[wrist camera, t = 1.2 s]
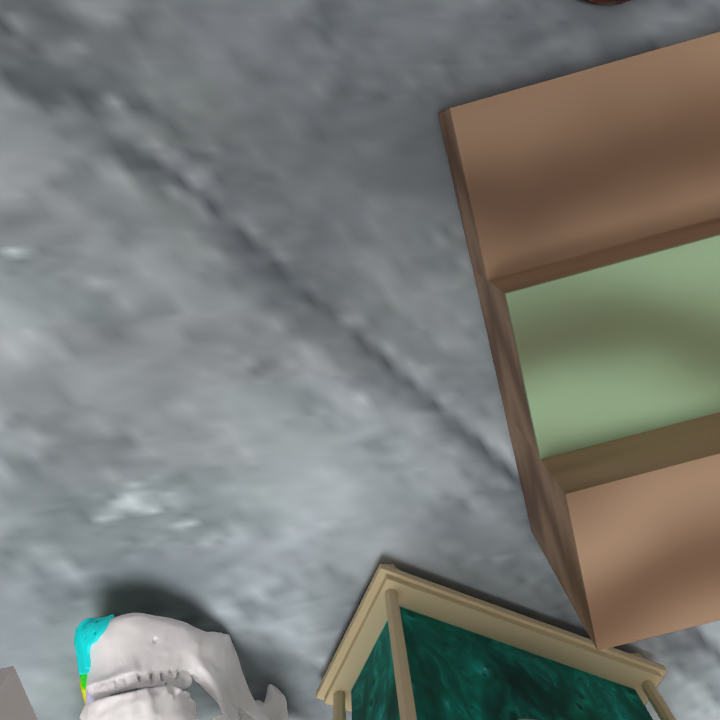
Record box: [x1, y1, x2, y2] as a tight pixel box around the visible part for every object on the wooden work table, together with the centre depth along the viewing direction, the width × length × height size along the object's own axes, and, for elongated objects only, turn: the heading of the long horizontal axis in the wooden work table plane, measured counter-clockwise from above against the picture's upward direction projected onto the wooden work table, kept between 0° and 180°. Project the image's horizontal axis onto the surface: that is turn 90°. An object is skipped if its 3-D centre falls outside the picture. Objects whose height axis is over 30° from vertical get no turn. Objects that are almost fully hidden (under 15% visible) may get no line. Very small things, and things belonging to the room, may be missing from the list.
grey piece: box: [74, 613, 289, 720], centre depth 33 cm, size 12×9×10 cm
